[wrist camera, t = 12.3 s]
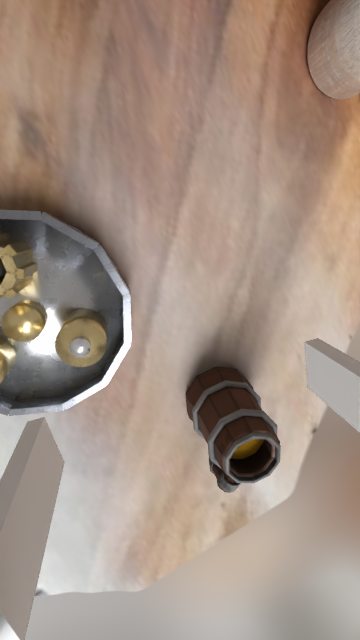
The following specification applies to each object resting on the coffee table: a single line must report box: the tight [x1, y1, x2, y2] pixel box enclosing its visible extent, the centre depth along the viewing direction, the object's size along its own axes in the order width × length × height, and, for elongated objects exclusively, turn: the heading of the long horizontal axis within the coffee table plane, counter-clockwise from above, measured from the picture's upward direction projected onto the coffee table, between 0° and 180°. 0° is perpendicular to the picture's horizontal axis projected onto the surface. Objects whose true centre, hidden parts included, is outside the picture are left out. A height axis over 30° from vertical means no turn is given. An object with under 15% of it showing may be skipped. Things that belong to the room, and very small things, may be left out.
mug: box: [186, 367, 280, 492], centre depth 45 cm, size 16×12×15 cm
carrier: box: [0, 210, 131, 416], centre depth 36 cm, size 27×27×10 cm
